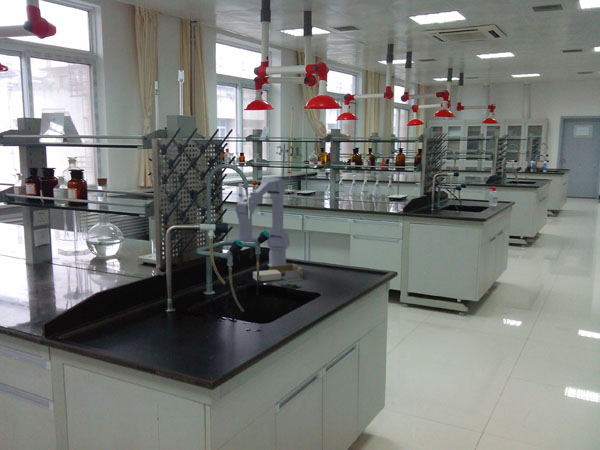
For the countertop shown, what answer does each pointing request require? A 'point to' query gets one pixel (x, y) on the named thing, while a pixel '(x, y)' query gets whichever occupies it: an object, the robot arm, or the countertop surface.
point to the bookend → (293, 275)
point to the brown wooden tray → (287, 268)
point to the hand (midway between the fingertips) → (246, 259)
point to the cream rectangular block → (267, 275)
